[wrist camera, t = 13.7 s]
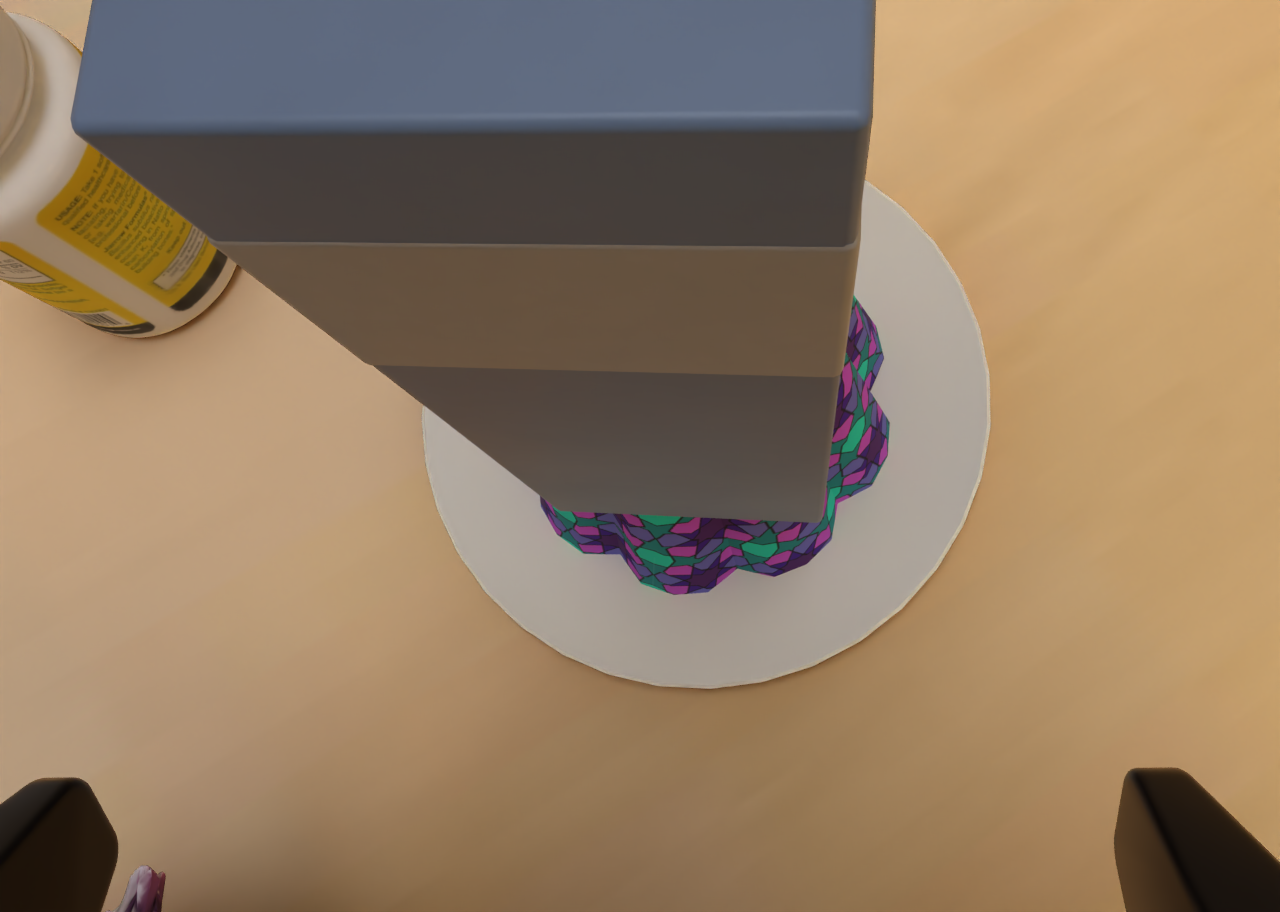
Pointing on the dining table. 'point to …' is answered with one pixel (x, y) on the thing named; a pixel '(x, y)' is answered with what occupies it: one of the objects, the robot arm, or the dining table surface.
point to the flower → (143, 891)
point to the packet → (534, 215)
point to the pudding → (758, 549)
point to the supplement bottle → (86, 207)
